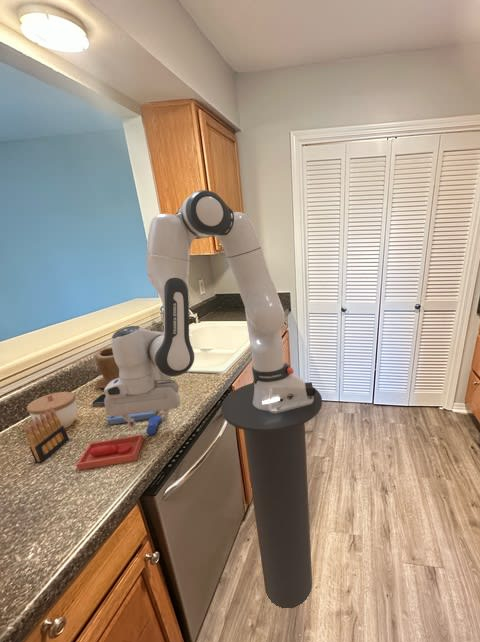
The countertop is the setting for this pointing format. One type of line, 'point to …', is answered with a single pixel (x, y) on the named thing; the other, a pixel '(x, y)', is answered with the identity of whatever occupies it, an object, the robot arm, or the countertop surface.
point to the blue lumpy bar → (153, 425)
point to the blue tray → (133, 416)
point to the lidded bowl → (55, 407)
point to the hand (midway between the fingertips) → (149, 423)
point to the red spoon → (111, 449)
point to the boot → (106, 367)
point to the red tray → (110, 459)
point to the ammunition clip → (45, 435)
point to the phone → (99, 401)
